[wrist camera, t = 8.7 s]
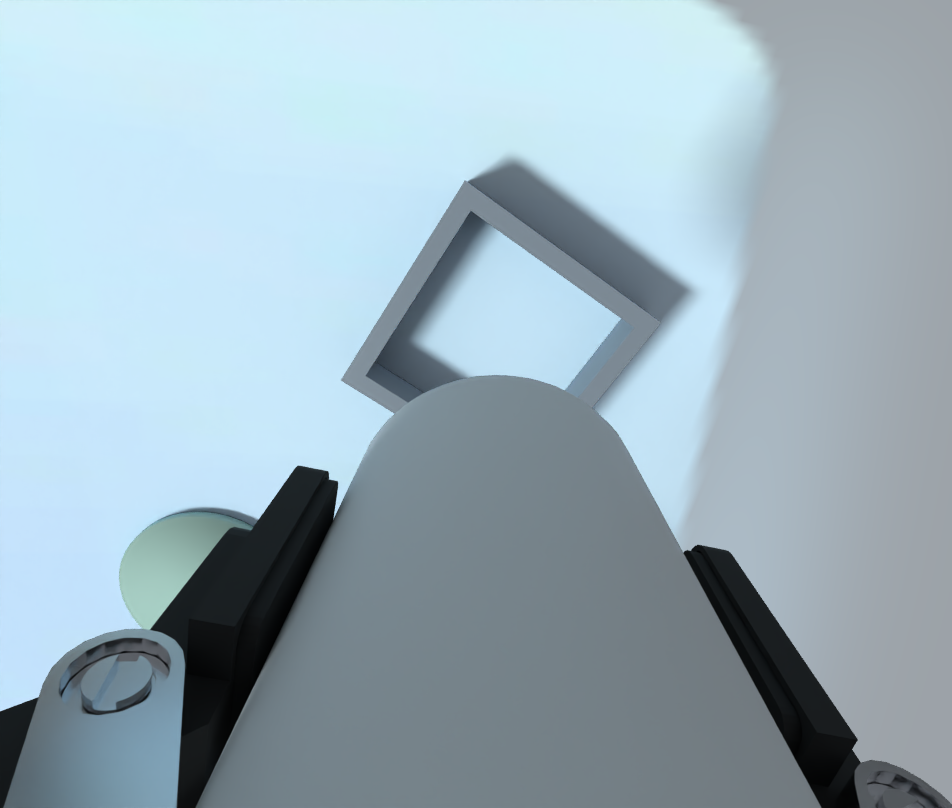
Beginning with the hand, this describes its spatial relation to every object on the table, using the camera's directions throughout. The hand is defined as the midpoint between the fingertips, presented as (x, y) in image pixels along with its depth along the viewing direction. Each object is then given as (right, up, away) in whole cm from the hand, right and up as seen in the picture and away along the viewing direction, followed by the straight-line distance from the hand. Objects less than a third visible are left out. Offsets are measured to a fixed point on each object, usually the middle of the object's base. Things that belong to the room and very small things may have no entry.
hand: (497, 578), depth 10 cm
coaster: (-15, -7, +22) cm, 27 cm away
